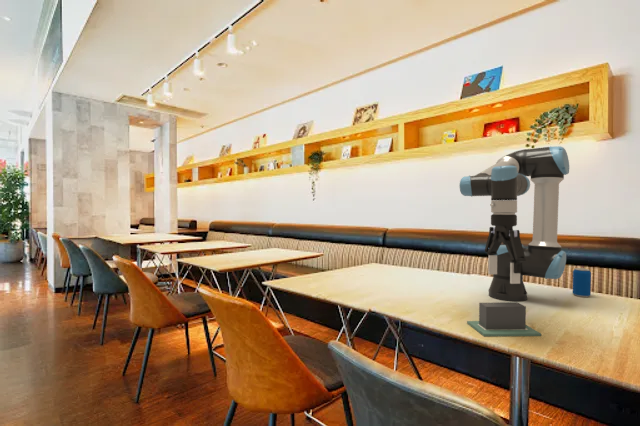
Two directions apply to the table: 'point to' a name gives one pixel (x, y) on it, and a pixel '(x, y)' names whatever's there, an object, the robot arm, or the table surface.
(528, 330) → the green peg board
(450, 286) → the table surface
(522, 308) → the block
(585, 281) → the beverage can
